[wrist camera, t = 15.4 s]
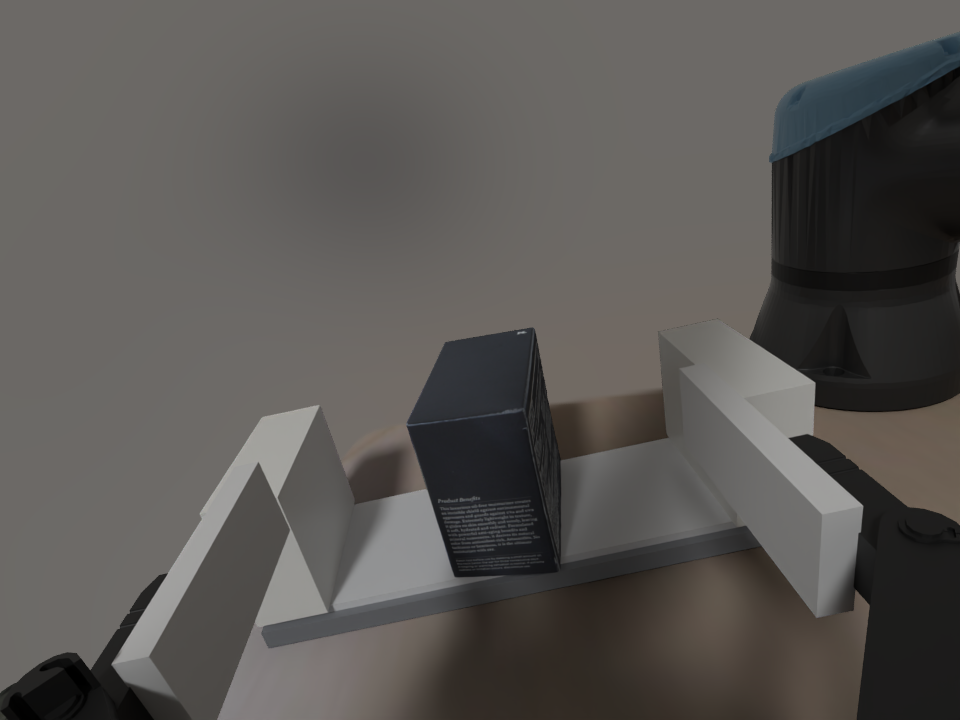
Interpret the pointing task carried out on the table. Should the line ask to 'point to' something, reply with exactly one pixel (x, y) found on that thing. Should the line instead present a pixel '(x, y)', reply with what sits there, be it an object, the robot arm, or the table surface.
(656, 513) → the panel
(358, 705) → the table surface
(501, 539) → the small box
